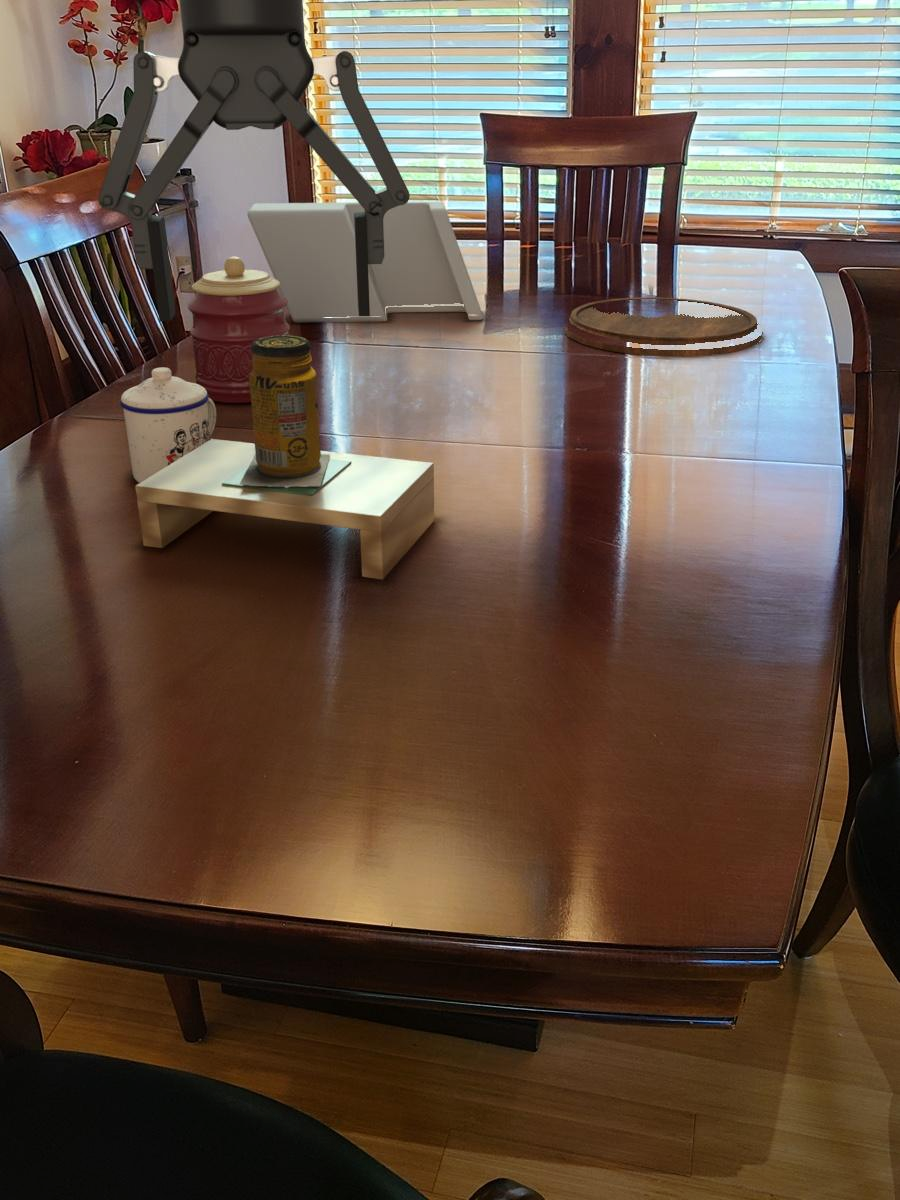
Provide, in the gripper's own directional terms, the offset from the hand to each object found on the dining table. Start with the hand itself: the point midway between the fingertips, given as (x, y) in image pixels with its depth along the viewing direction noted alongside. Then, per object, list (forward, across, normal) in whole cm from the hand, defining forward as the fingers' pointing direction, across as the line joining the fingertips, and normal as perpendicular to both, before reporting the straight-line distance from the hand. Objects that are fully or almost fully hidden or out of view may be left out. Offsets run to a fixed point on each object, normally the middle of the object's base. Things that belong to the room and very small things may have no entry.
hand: (266, 315), depth 75 cm
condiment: (+19, 0, +19) cm, 27 cm away
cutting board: (+25, +58, +95) cm, 114 cm away
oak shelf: (+25, 0, +19) cm, 31 cm away
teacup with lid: (+25, -13, +38) cm, 47 cm away
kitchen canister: (+25, -8, +68) cm, 73 cm away
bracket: (+25, +11, +112) cm, 116 cm away
